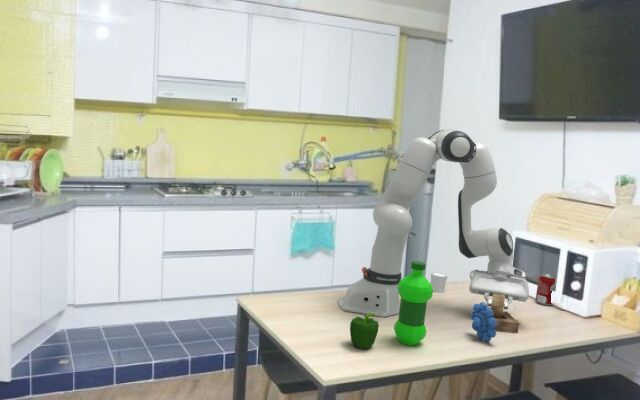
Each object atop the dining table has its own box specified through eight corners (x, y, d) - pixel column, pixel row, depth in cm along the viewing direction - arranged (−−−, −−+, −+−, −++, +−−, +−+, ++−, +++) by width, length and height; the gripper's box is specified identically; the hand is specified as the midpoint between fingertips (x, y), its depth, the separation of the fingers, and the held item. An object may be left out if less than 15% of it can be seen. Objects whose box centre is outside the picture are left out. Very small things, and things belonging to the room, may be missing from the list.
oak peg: (490, 326, 191) (495, 296, 190) (486, 322, 196) (491, 292, 194) (502, 327, 192) (507, 297, 190) (498, 323, 196) (503, 293, 194)
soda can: (544, 306, 223) (549, 278, 222) (531, 301, 229) (535, 273, 228) (556, 305, 227) (560, 277, 225) (542, 300, 233) (547, 273, 231)
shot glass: (447, 291, 232) (449, 275, 231) (442, 294, 226) (444, 277, 225) (432, 287, 236) (434, 271, 235) (426, 290, 230) (428, 274, 229)
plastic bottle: (421, 336, 174) (431, 260, 171) (428, 349, 164) (439, 268, 161) (389, 333, 174) (399, 257, 171) (395, 346, 163) (405, 265, 160)
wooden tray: (483, 329, 187) (484, 319, 187) (473, 317, 199) (474, 308, 199) (517, 332, 188) (519, 323, 187) (505, 320, 200) (507, 311, 199)
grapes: (458, 333, 181) (463, 298, 180) (474, 332, 184) (479, 297, 183) (482, 347, 171) (488, 310, 169) (499, 345, 174) (504, 309, 172)
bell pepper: (348, 350, 157) (352, 316, 156) (347, 339, 166) (351, 307, 164) (377, 353, 157) (381, 319, 156) (374, 342, 166) (378, 310, 164)
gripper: (471, 264, 200) (468, 297, 192) (530, 273, 195) (529, 307, 187) (469, 273, 205) (466, 306, 197) (526, 282, 200) (526, 316, 192)
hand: (497, 306), depth 192 cm, fingers open, 4 cm apart
